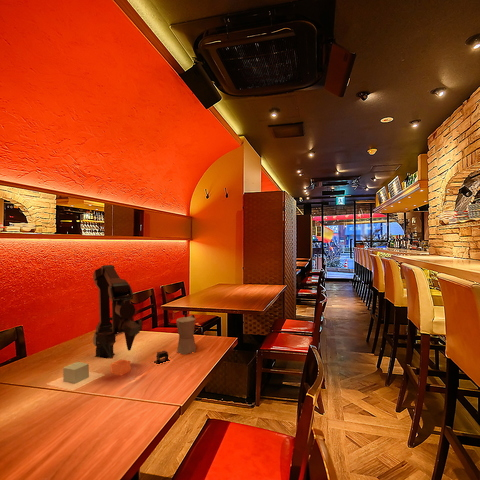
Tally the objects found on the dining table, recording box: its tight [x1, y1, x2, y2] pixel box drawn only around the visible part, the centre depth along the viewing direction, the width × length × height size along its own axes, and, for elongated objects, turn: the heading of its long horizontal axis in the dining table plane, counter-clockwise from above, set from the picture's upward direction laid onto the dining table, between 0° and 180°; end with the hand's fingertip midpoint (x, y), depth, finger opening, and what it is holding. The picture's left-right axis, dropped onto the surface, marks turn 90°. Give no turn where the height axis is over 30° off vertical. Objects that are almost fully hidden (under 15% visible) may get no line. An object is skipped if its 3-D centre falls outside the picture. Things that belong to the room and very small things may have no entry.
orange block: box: [110, 359, 132, 376], centre depth 121 cm, size 5×5×5 cm
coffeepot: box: [175, 312, 197, 355], centre depth 147 cm, size 15×9×18 cm, turn 162°
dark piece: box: [154, 350, 170, 364], centre depth 134 cm, size 12×7×5 cm, turn 128°
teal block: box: [62, 361, 90, 384], centre depth 115 cm, size 6×6×5 cm
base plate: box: [45, 370, 106, 392], centre depth 115 cm, size 14×14×1 cm
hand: (120, 354), depth 121 cm, fingers open, 9 cm apart
